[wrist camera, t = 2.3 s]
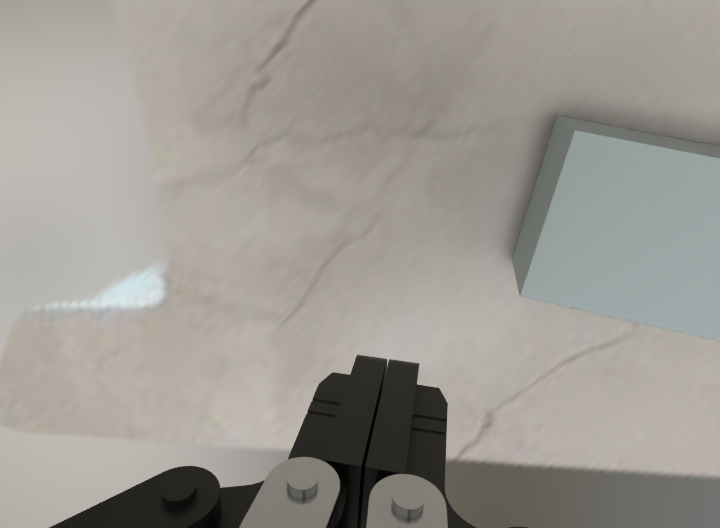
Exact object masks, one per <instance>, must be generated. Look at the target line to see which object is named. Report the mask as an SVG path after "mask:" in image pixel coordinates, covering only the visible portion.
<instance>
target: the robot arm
mask: <svg viewBox="0 0 720 528" xmlns="http://www.w3.org/2000/svg"><path fill="white" fill-rule="evenodd" d="M418 370H419V364H418V363H411V362H405V361H398V360H391V359H389V363H388V367H387V359H383V358H376V357H369V356H362V355H357V357H356V359H355V362H354V366H353V369H352V372H351V375H347V374H340V373H331V374H330V375H329V376H328V377H327V378H325V379H324V380H323V381H322V382H321V383H319V385H318V387H317V390H316V392H315V395H314V397H313V401H312V402H311V404H310V407H309V409H308V413H307V414H306V417H305V419H304V421H303V424H302V426H301V429H300V431H299V433H298V436H297V438H296V441H295V443H294V446H293V448H292V450H291V453H290V455H289V458H288V460H286V461H284V462H282V463H280V464H278V465H277V466H276V467H274V468H273V469H272V470H271V471H270V473H269V474H268V476H267V478H266V479H265V481H262V482H260V483H256V484H252V485H246V486H236V487H225V488H220V485H219V482H218V480H217V478H216V477H215V475H213V474H212V473H211V472H210V471H208V470H206V469H204V468H200V467H195V466H183V467H177V468H173V469H170V470H167V471H165V472H163V473H161V474H159V475H156V476H154V477H152V478H150V479H148V480H146V481H144V482H142V483H140V484H138V485H136V486H134V487H132V488H130V489H128V490H126V491H124V492H122V493H120V494H118V495H116V496H114V497H111V498H109V499H107V500H105V501H103V502H101V503H99V504H97V505H95V506H93V507H91V508H89V509H87V510H85V511H83V512H81V513H79V514H77V515H75V516H73V517H71V518H69V519H66V520H64V521H62V522H61V523H58V524H56V525H54V526H52V527H50V528H476V527H474V526H472V525H471V524H469V523H467V522H466V521H464V520H463V519H462V518H461V517H460V516H458V514H456V513H455V511H454V510H453V509H452V507H451V506H450V504H449V502H448V500H447V498H446V494H445V486H444V485H445V459H446V432H447V405H448V403H447V402H446V400H445V398H444V396H443V394H442V393H441V391H440V389H439V388H435V387H428V386H422V385H417V379H418ZM510 528H526V527H510Z"/></svg>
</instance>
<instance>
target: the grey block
mask: <svg viewBox="0 0 720 528" xmlns="http://www.w3.org/2000/svg"><path fill="white" fill-rule="evenodd" d="M512 261H513V266H514V271H515V275H516V280H517V285H518V289H519V294H520V296H521V297H525V298H530V299H534V300H539V301H543V302H547V303H552V304H556V305H561V306H565V307H569V308H574V309H578V310H583V311H587V312H592V313H596V314H600V315H605V316H609V317H614V318H618V319H622V320H627V321H631V322H636V323H640V324H644V325H649V326H653V327H658V328H662V329H666V330H671V331H675V332H680V333H684V334H689V335H693V336H697V337H702V338H706V339H711V340H715V341H719V342H720V146H715V145H710V144H704V143H699V142H694V141H689V140H684V139H678V138H673V137H668V136H663V135H658V134H653V133H647V132H642V131H637V130H632V129H627V128H621V127H616V126H611V125H606V124H601V123H595V122H590V121H585V120H580V119H575V118H570V117H564V116H559V115H557V117H556V120H555V123H554V126H553V130H552V133H551V136H550V139H549V142H548V146H547V149H546V152H545V155H544V158H543V161H542V165H541V168H540V171H539V174H538V177H537V181H536V184H535V187H534V190H533V193H532V197H531V200H530V203H529V206H528V209H527V213H526V216H525V219H524V222H523V225H522V228H521V232H520V235H519V238H518V241H517V244H516V248H515V251H514V254H513V257H512Z"/></svg>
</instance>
